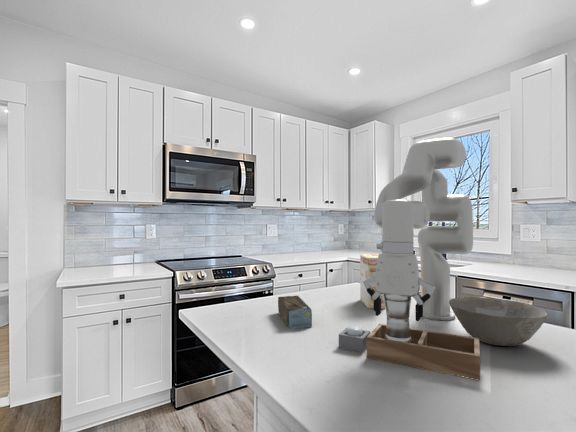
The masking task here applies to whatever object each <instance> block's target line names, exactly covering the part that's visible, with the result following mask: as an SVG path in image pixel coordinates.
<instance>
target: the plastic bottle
mask: <svg viewBox="0 0 576 432" xmlns="http://www.w3.org/2000/svg"><path fill="white" fill-rule="evenodd" d="M384 298H385V305H386V309H385V310H386V311H385V312H386V313H385V315H386V325H387V326H386V335H385V339H389V340H395V341H401V342H407V343H412V339H411V336H410V328H411V325H410V314H411V313H410V312H411V311H410V310H411V303H412V297H407V296H400V295H396V294H389V295H387V294H384Z"/></svg>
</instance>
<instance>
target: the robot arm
mask: <svg viewBox="0 0 576 432" xmlns="http://www.w3.org/2000/svg"><path fill="white" fill-rule="evenodd" d="M466 151H467V150H466V148H465V145H464V144H463V142H462V141H460V140H458V139H456V138H453V137H443V138H442V137H441V138H433V139H427V140H421V141H418V142H415V143H413V144H411V146H410V147H409V149H408V152H407V154H406V155H407V156H406V158H405V159H406V160H405V162H404V166H403V169H402V172H401V174H400V175H398V176H396V177H395V178H394V179H393V180H391V181H390V182H388V183H387V184H386V185H385V186H384V187H383V188H382V189H381V191H380V193H379V194H378V198H377V201H376V204H375V208H374V214H373V215H374V216H373V217H374V222H375V224H376V225H377V226H378V227H379V228H381V233H382V234H381V236H382V237H381V243H376V247H375V248H376V249H377V250H380V251H381V253H378V255H379V256H378V261H377V269H376V276H374V277H372V278H369V279H367V280H365V281H363V284H364V286H365V288H366V290H367V292H368V293H369V294H370V296H371V297H372V299H373V300H374V308H373V312H375V313H374V314H375V316H376V317H378V316H381V314H382V309H381V298H380V295H381V294H387V295H389V294H396V295H400V296H407V297H411V298H413V299H414V300H415V301H416V304H415V309H414V310H415V315H414V317H415V321H416V322H420V320H421V318H424V319H429V320H436V321H450V320H454V319H455V318H456V315H455V314H454V312H453V311H451V306H450V304H449V301H450V300H451V267H450V263H449V262H448V261H447V259H446V258H445V257H444V256H443V254H445V255H446V254H449V255H453V254H454V255H468V254H470V253H471V252H472V250H473V248H474V222H473V220H474V217H473V213H474V212H473V205H472V201H471V198H470V197H469V196H468V195H467V194H449V193H448V192H449V191H448V179H447V178H446V176H445V175H444V174H443V173H442V172H441V171H440V170H441V169H442V170H445V169H455V168H457V169H458V168H461V167H462V166H463V165H464V164H465V161H466V158H467V152H466ZM419 192H421V200H420V201H419V200H408V199H403V198H406V197H409V196H412V195H414V194H416V193H419ZM428 223H455V224H456V225H454V226H453V225H429V226H427V225H428ZM419 229H420V230H419ZM414 230H419V231H418V233H417V243H418V249H419V256H420V257H419V258H420V271H419V263H418V259H417V258H418V257H417V255H416V254H414ZM375 281H376V282H375ZM372 282H375V287H376V292H375V291H374V290H373V288H372V287H371V285H370V284H371V283H372Z"/></svg>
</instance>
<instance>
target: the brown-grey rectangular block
mask: <svg viewBox="0 0 576 432" xmlns="http://www.w3.org/2000/svg"><path fill="white" fill-rule="evenodd" d="M277 304H278V307H277V308H278V310H277V311H278V313H279V315H280V317H281V318H282V320H283V321H284V323H285V325H286V326H287V327H288V328H289V329H301V328H303V329H304V328H312V327H313V318H312V317H313V314H312V313H313V311H312V308H311V307H310V306H309V305H308V304H307V303H306V302H305V301H304V300H303V299H302V298H301V297H300V296H299V295H291V296H290V295H286V296H278V299H277Z"/></svg>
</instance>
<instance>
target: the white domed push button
mask: <svg viewBox="0 0 576 432" xmlns="http://www.w3.org/2000/svg"><path fill="white" fill-rule="evenodd" d="M346 328H347V335H353V336H359V337H361V336H362V330H363V328H362V327H360V326H356V325H355V326H354V325H351V326H348V327H346Z"/></svg>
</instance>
